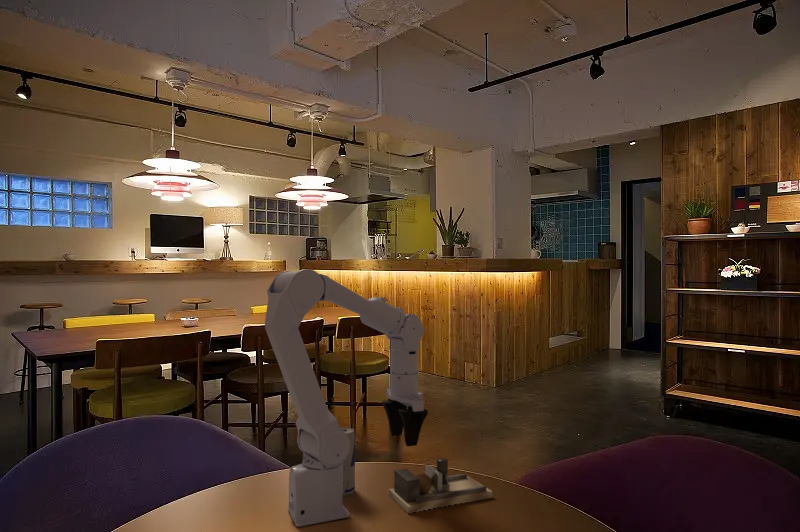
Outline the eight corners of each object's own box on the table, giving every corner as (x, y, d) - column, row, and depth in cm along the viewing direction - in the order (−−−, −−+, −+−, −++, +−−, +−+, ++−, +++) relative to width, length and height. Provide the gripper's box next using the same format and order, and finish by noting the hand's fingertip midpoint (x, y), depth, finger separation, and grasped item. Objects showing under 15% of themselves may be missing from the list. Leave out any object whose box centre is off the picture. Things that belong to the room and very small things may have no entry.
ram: (437, 495, 93) (437, 465, 93) (425, 485, 97) (425, 457, 98) (453, 492, 94) (453, 463, 94) (440, 482, 99) (440, 455, 99)
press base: (408, 513, 88) (408, 484, 88) (388, 495, 96) (389, 468, 97) (492, 497, 95) (492, 470, 96) (467, 481, 103) (467, 456, 104)
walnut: (418, 498, 92) (418, 478, 92) (410, 491, 95) (410, 472, 95) (435, 495, 93) (435, 475, 94) (426, 488, 97) (426, 469, 97)
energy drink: (357, 487, 100) (357, 427, 101) (352, 497, 95) (352, 434, 96) (331, 486, 101) (332, 426, 102) (324, 496, 96) (325, 433, 96)
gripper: (437, 376, 95) (437, 448, 94) (407, 366, 109) (407, 429, 108) (404, 378, 93) (404, 452, 92) (377, 368, 106) (377, 432, 105)
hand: (403, 440), depth 100 cm, fingers open, 7 cm apart
